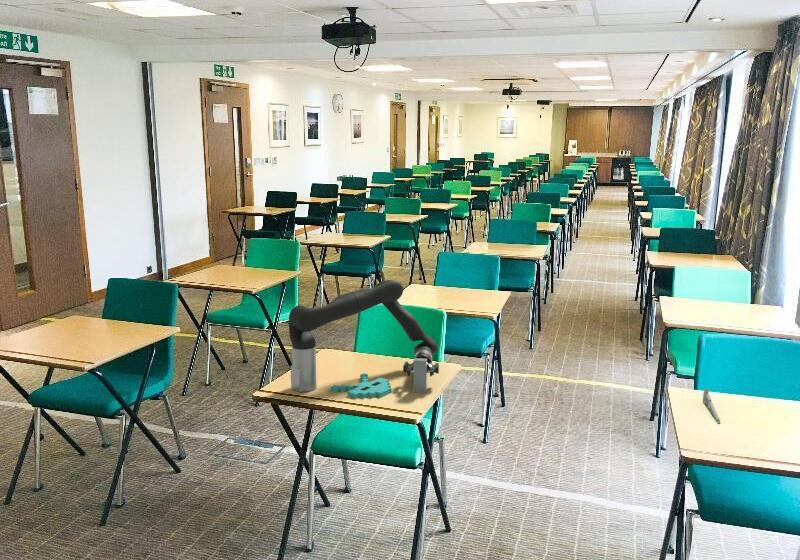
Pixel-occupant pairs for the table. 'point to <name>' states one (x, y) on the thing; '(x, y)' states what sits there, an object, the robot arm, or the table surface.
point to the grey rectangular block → (420, 375)
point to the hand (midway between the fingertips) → (420, 373)
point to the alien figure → (366, 388)
